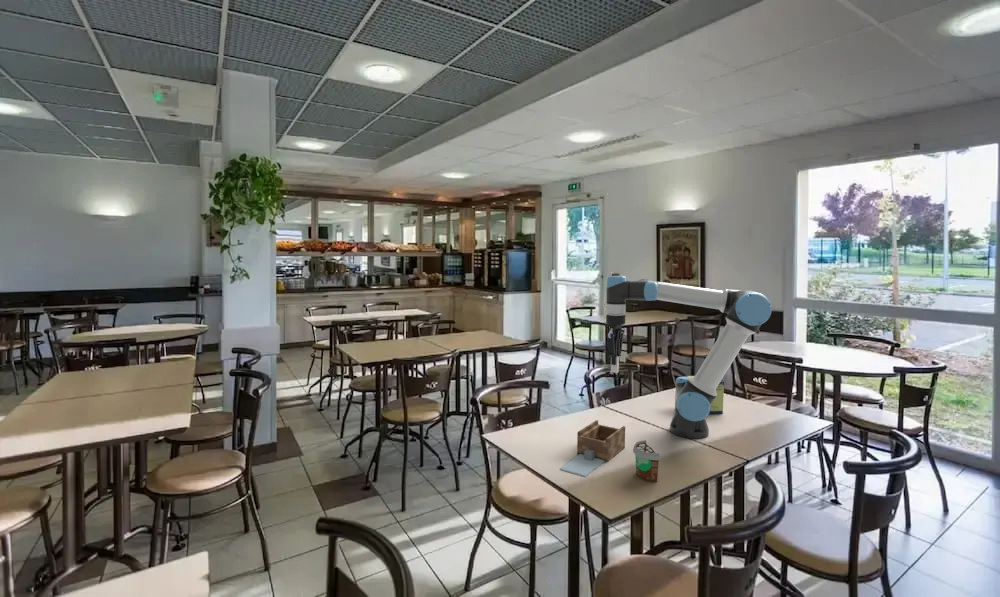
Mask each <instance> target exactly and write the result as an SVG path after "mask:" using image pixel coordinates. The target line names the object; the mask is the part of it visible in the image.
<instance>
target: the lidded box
mask: <svg viewBox="0 0 1000 597" xmlns="http://www.w3.org/2000/svg"><path fill="white" fill-rule="evenodd" d="M576 433H577V434H576V435H577V438H576V440H577V441H576V443H577V444H576V446H577V448H576V450H577V451H576V452H577V455H579V454H582V455H584V451H585V450H586V449H590V450H594V451H595V458H597V459H601V460H604V462H603V463H605V462H606V463H609V462H610V461H611V460H612V459H613V458H615V457H617V455H618V454H619V453H620V452H622V451H623V450H624V449H625V448H626V426H624V425H622V426H621V427H620V428H617V427H611V426H608V425H603V424H599V419H597V420H594V421H592V422H591V423H590V424H588V425H586V426H585V427H583V428H582V429H580V430H579V431H577V432H576Z"/></svg>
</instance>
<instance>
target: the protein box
mask: <svg viewBox="0 0 1000 597" xmlns="http://www.w3.org/2000/svg"><path fill="white" fill-rule="evenodd" d="M683 377H695V375H683ZM724 389H725V381H724V380H723V379H722V380H721V381H720V383H719V384H718V386H717V388H716V393H717V396H716V398H715V399H714V401H713V402H712V404H711V406H710V407H711V408H710V412H709V414H708V415H723V414H724V396H725V395H724V394H725V393H724V392H725V390H724Z"/></svg>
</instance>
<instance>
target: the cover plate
mask: <svg viewBox="0 0 1000 597" xmlns="http://www.w3.org/2000/svg"><path fill="white" fill-rule="evenodd" d="M603 463H605V462H604V460H601V459H597V458H595V451H594V450H590V449H586V450H585V451H584V455H582V454H579V455H578V454H577V455H576V456H575V457H573V458H572V459H570V460H569V461H568V462H566V463H565V464H563V466H561V467H560V468H559V470H560V471H562V472H567V473H570V474H574V475H577V476H580V477H584V478H587V477H588V476H589V475H590V474H592V473H593V472H594V471H595V470H596V469H597V468H598V467H600V466H601V465H602V464H603Z"/></svg>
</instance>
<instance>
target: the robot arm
mask: <svg viewBox="0 0 1000 597" xmlns="http://www.w3.org/2000/svg"><path fill="white" fill-rule="evenodd" d="M657 300H658V301H662V302H670V303H677V304H680V305H681V304H683V305H689V306H695V307H702V308H706V309H714V310H719V312H721V313H724V314H727V315H726V316H725V321H726V324H725V325H724V327H723V329H722V331H721V332H720V334H719V336H718V338H717V339H716V340H715V341H714V344H713V346H712V347H711V349H710V351H709V353H708V354H707V355H706V357H705V359H704V361H703V362H702V363H701V365H700V367H699V369H698V370H697V372H696V373H695V375H694V376H695V377H684V376H679V377H677V378H676V379H675V383H674V384H675V401H674V413H673V415H672V418H671V421H670V424H669V431H670V432H671V433H672V434H674V435H676V436H678V437H682V438H688V439H703V438H707V437H708V436H709V434H710V433H709V432H710V429H709V425H708V422H707V419H706V418H707V417H708V416H709V415H710V414H709V412H710V408H711V407H710V406H711V404H712V402H713V401H714V399H715V398H716V396H717V393H716V388H717V386H718V384H719V383H720V381H721V380H722V381H723V378H724V377H725V375H726V373H727V371H728V370H729V369H730V367H731V365H732V364H733V362H734V360H735V359H736V357H737V356H738V354H739V352H740V351H741V349H742V347H744V344H745V343H746V341H747V340H748V337H750V335H754V334H756V333H757V332H758V331H759V330H760V328H761V326H762V324H764V323H766V322H767V321H768V320H769V319H770V318H771V315H772V309H773V308H772V303H771V302H770V300H769V299H768V297H767V296H766V295H764V294H763V293H760V292H758V291H754V290H751V289H730V288H724V290H718V289H711V288H705V287H697V286H692V285H684V284H676V283H670V282H663V281H657V280H656V281H655V280H649V279H646V278H641V279H638V280H635V281H634V280H633V281H632V280H628V279H627V277H626V276H625V275H609V276H608V277H607V278H606V305H605V308H606V310H605V311H606V315H605V319H606V320H605V323H606V324H607V325H608V326H609V328H608V332H606V334H605V336H606V339H607V340H606V341H607V350H608V351H607V352H608V356H609V357H610V373H616V374H618V373H619V369H620V367H619V366H620V364H619V363H620V360H619V359H620V357H621V356H622V351H623V350H622V349H623V342H624V341H623V340H624V334H625V329H623V328H622V327H623V326H624V325H625V324H626V315H625V314H626V312H627V311H626V309H627V307H626V303H627V302H626V301H646V302H648V301H650V302H651V301H657Z"/></svg>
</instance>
